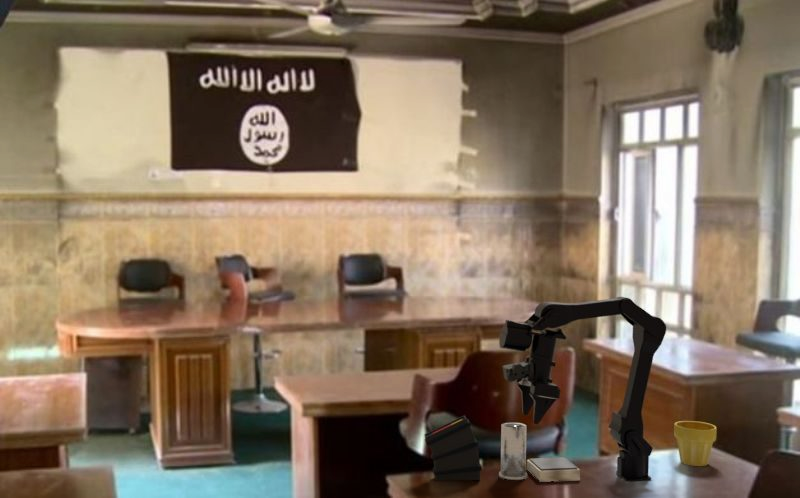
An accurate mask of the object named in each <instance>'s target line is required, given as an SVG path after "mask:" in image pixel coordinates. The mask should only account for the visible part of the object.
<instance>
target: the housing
mask: <svg viewBox="0 0 800 498" xmlns="http://www.w3.org/2000/svg"><path fill="white" fill-rule="evenodd" d="M500 425H501V426H500V427H501V431H500V432H501V433H500V471H499V472H498V477H499V478H500V477H501V478H503V479H502V480H504V479H507V480H506V481H508V480H522V481H524V480H523V479H525V480H527V479H528V473H527V425H526V424H524V423H521V422H505V423H504V422H503V423H502V424H500ZM501 478H500V479H501ZM526 478H527V479H526Z"/></svg>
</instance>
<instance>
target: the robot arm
mask: <svg viewBox="0 0 800 498" xmlns="http://www.w3.org/2000/svg"><path fill="white" fill-rule="evenodd" d="M617 315H619V316H621V317H622V318H623V319H624V320H625V321H626V322H627V323H628V324H630V326H632V342H633V356H632V361H631V365H630V369H629V374H628V378H627V383H626V388H625V393H624V397H623V401H622V405H621V407H620V409H619V410H618V412H615V411H612V413H611V419H610V423H609V424H608V428H609V430H610V432H609V433H610V436H611V437H612V439H613V440H614V441H615V442H616V444H617V446H618V448H620V449H619V453H618V454H619V456H617V459H616V460H617V463H616V472H615V473H616V475H618V476H620V477H621V478H622V479H623V480H625V481H626V482H627V481H628V482H630V481H650V480H652V477H651V476H650V475H649V462H650V458H649V457H650V456H651V454H652V452H653V446H652V445H651V444H650V443H649V442H648V441H647V440H646V439H645V438H644V428H645V427H644V425H645V424H644V419H643V413H642V411H643V407H644V401H645V398H646V393H647V390H648V389H647V388H648V383H649V379H650V375H651V369H652V365H653V360H654V356H655V353H656V352H657V351H658V350H659V348H660V346H661V345H662V343H663V341H664V338H665V335H666V333H667V325H666V323H665V321H664V320H663V319H662V318H660V317H658V316H655V315H652V314H650V312H647V311H646V310H645V309H643V308H642V307H641V306H639V305H638V304H636V303H635V302H634V301H633V300H632V299H631V298H629V297H626V296H617V297H614V298H606V299H605V298H604V299H598V300H591V301H583V302H575V303H571V302H570V303H569V302H559V301H558V302H557V301H542V302H540V303H538V305H537V306H536V307H535V309H534V313H533V314H532V315H530V317H528V318H527V319H526V321H524V322H523V323H522V322H517V321H513V320H510V319H506V320H505V322H504V325H503V327H502V329H501V331H500V332H499V339H498V340H499V342H498V343H499V348H500V349H504V350H510V351H517V352H523V353H524V352H526V350H529V349H530V350H529V355H526V356H525V359H524V361H522V362H515V363H509V364H504V365H502V371H503V372H502V373H503V378H504V380H505V381H507V382H509V383H512V382H515V383H514V384H515V386H516V387H517V388H518V389H519V391H520V394H521V395H520V396H521V408H522V409H521V411H522V415H523V416H528V414H529V413H530V411H531V409H532V407H533V416H532V417H533V418H532V421H533V424H534V425H539V423H540V422H541V421H542V420H543V418H544V416H545V415H546V413H547V412H548V411H549V410H550V409H551V407H552V406H553V404H554V403H555V402H557V401H558V399H560V396H561V391H562V390H561V389H560V387H559V386H558V385H556V384H555V383H553V379H552V378H551V374H552V368H554V367H556V364H557V363H556V361H554V358H555V353H556V348H557V347H556V346H557V342H558V340H567V336H566V335H565V334H564V333H563V330H562V328H560V327H562V326H563V327H564V326H566V325H569V324H571V323H573V322H575V321H579V320H588V319H595V318H603V317H610V316H611V317H612V316H617ZM553 329H554V330H553Z"/></svg>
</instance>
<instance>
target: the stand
mask: <svg viewBox="0 0 800 498" xmlns="http://www.w3.org/2000/svg"><path fill="white" fill-rule="evenodd" d="M527 470H528V471H529V472H530V473H531V474H532V475H531V474H530V473H529V472H528V471H527ZM526 471H527V472H528V473H529V474H530V475H531V476H532V477H534V476H535V477H536V478H537V479H538V480H539V481H538V480H537V479H536V478H535V477H534V478H535V479H536V480H537V481H538V482H539V483H547V482H549V483H550V482H551V481H554V482H575V481H576V482H577V481H581V469H580V468H579V467H577V466H576V465H575V464H573V463H572V462H571V461H570V460H568V459H567V458H566V457H562V456H561V457H541V458H540V457H538V458H536V457H535V458H529V459H526ZM559 480H560V481H559ZM561 480H562V481H561Z"/></svg>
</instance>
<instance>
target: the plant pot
mask: <svg viewBox="0 0 800 498" xmlns="http://www.w3.org/2000/svg"><path fill="white" fill-rule="evenodd" d="M717 430H718V429H717V426H716V425H714V424H712V423H708V422H705V421H695V420H694V421H693V420H681V421H680V420H679V421H676V422H674V427H673V436H674V437H675V439H676V442H677V443H676V444H677V448H678V455H679V460H680V462H681V463H682V464H684V465H687V466H693V467H705V466H707V465H708V463H709V460H710V456H711V452H712V448H713V444H714V442H716V441H717V434H718V433H717Z"/></svg>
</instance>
